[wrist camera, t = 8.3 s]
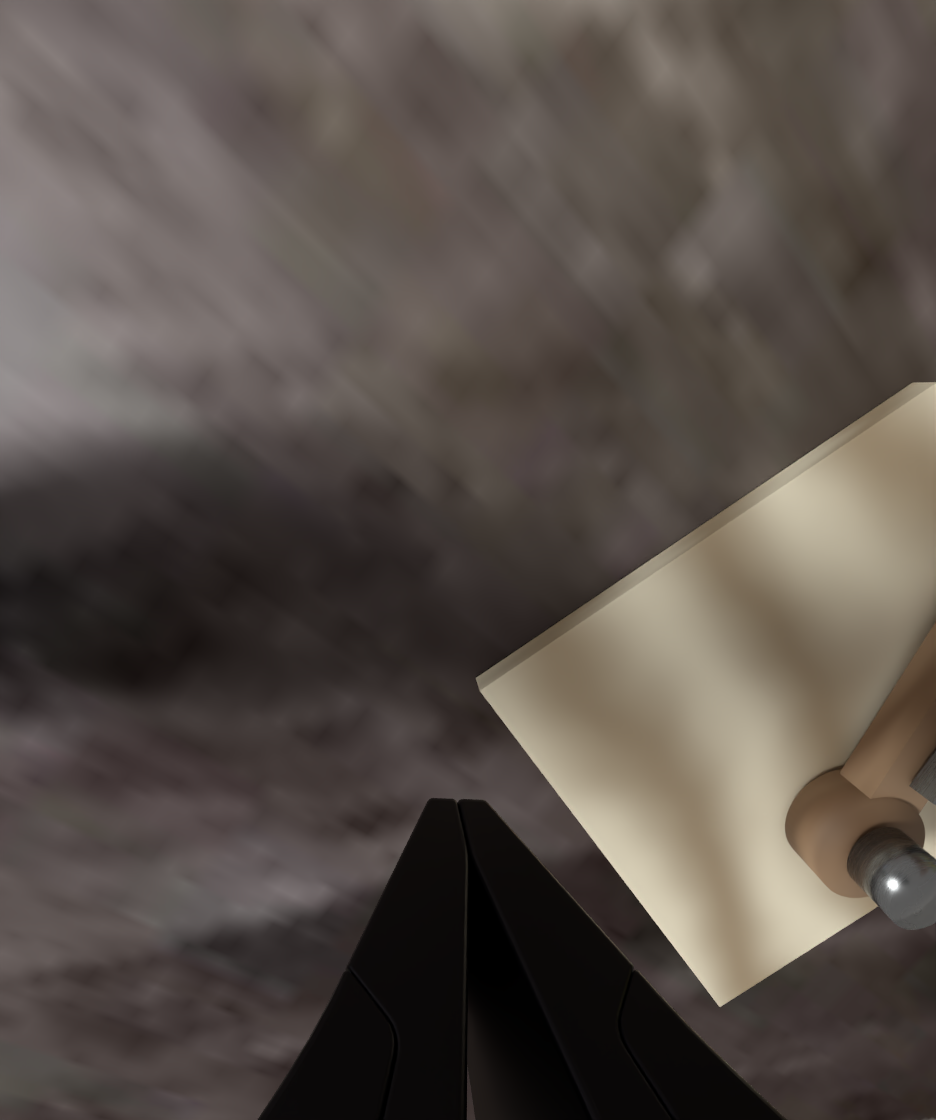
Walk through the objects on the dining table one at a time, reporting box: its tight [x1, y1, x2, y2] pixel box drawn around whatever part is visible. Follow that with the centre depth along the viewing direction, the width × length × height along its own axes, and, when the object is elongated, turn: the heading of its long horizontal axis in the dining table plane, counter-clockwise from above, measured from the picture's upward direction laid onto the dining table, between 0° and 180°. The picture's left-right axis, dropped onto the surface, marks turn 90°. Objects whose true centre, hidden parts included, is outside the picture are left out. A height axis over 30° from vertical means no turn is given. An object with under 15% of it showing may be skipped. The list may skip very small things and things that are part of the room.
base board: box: [476, 382, 936, 1007], centre depth 24 cm, size 19×20×1 cm
